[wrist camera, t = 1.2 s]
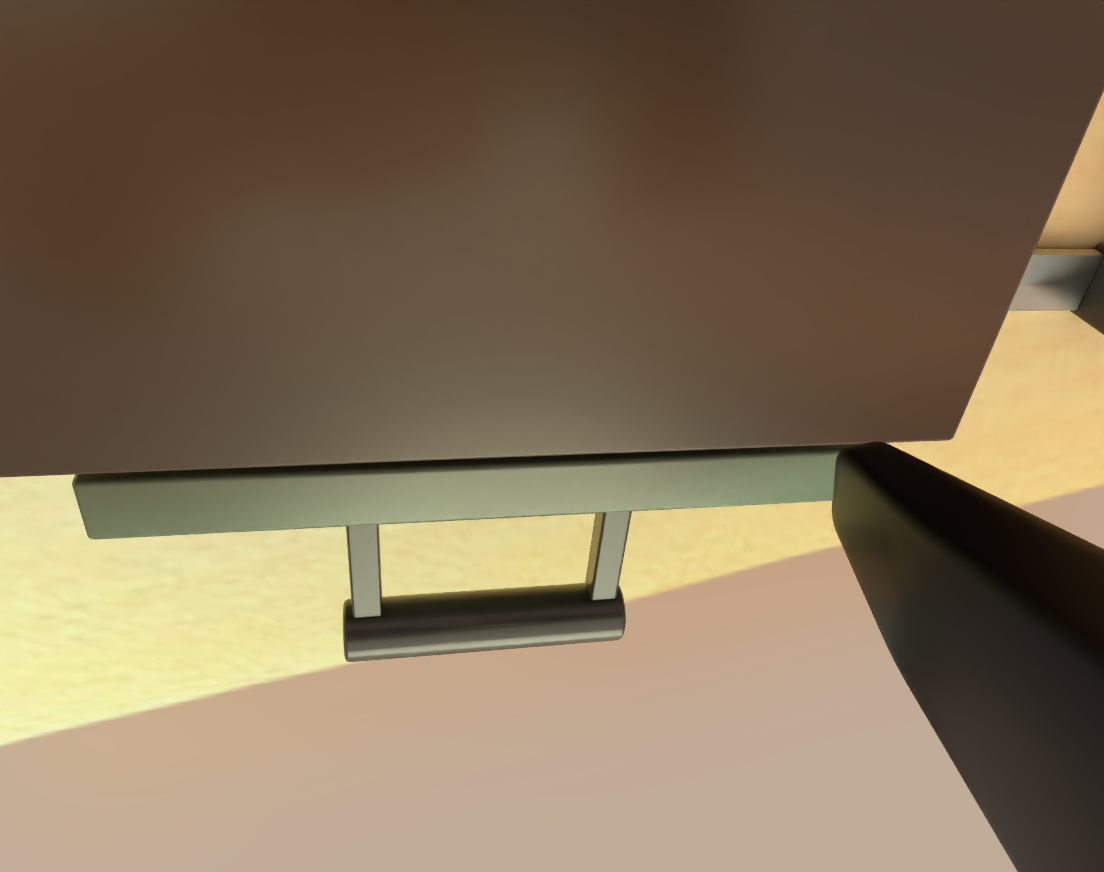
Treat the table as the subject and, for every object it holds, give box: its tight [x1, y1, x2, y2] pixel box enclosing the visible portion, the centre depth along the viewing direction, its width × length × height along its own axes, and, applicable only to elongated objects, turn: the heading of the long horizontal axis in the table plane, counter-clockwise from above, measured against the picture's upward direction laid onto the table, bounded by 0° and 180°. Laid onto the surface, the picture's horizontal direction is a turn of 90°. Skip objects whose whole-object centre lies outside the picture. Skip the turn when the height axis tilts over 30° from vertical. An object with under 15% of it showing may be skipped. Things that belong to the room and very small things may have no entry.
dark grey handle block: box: [1008, 244, 1104, 335], centre depth 23 cm, size 9×2×3 cm, turn 85°
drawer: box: [72, 444, 859, 662], centre depth 15 cm, size 18×13×7 cm
